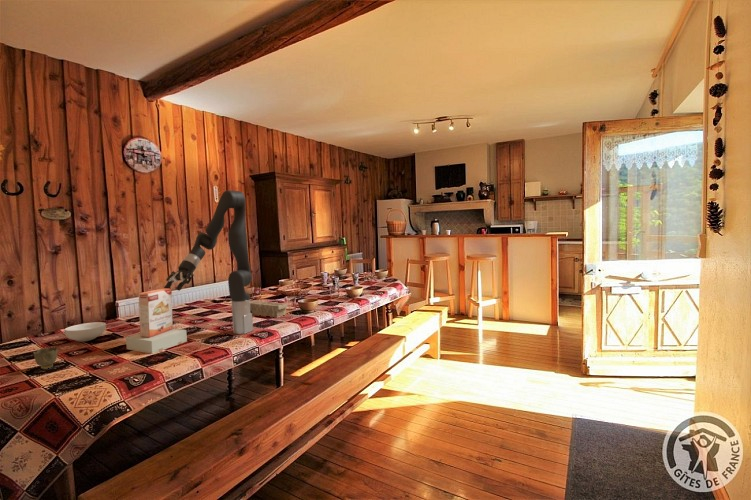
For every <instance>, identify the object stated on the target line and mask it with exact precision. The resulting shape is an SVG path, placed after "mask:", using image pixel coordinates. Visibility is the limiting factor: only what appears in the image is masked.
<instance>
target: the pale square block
mask: <svg viewBox="0 0 751 500" xmlns="http://www.w3.org/2000/svg"><path fill="white" fill-rule="evenodd" d="M187 336H188V335H187V329H182V328H181V329H179V328H174V327H173V329H172V330H169V331H166V332H163V333H161V334H158V335H155V336H152V337H141V336H140V332H139V333H135V334H132V335H129V336H126V337H125V344H126V350H130V351H135V352H140V353H141V352H142V353H146V354H152V355H153V354H156V353H158V352H162V351H163V350H167V349H169V348H172V347H175V346H178V345H181V344H184V343H186V342H188V337H187Z"/></svg>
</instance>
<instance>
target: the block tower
mask: <svg viewBox="0 0 751 500" xmlns="http://www.w3.org/2000/svg"><path fill="white" fill-rule="evenodd" d="M287 308H288V303H285V302H284V303H283V302H282V303H281V302H269V301H262V300H255V299H254V300H250V311H251V313H252V316H259V315H261V316H260V317H266V316H271V317H270V318H273V317H279V316H282V315H285V314H286V315H287V311H286V310H287ZM286 315H285V316H286ZM282 317H283V316H282ZM279 318H280V317H279Z"/></svg>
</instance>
